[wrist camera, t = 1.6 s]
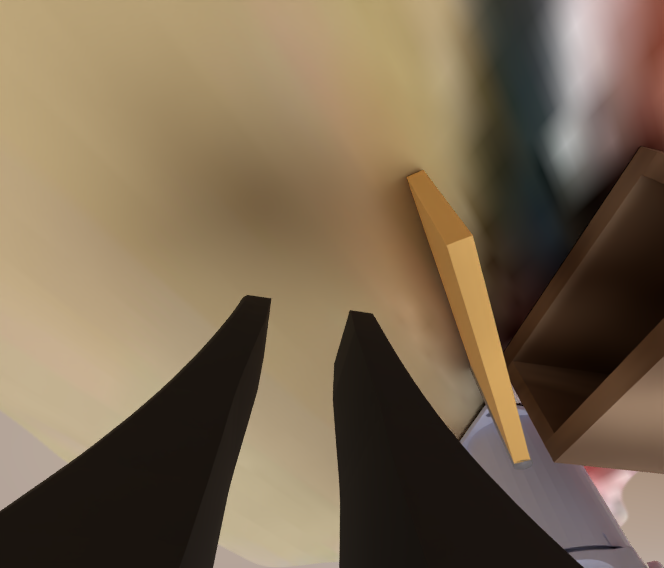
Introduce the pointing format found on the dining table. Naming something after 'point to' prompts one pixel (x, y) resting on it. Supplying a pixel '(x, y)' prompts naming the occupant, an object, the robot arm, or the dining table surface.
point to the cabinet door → (471, 311)
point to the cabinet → (602, 335)
